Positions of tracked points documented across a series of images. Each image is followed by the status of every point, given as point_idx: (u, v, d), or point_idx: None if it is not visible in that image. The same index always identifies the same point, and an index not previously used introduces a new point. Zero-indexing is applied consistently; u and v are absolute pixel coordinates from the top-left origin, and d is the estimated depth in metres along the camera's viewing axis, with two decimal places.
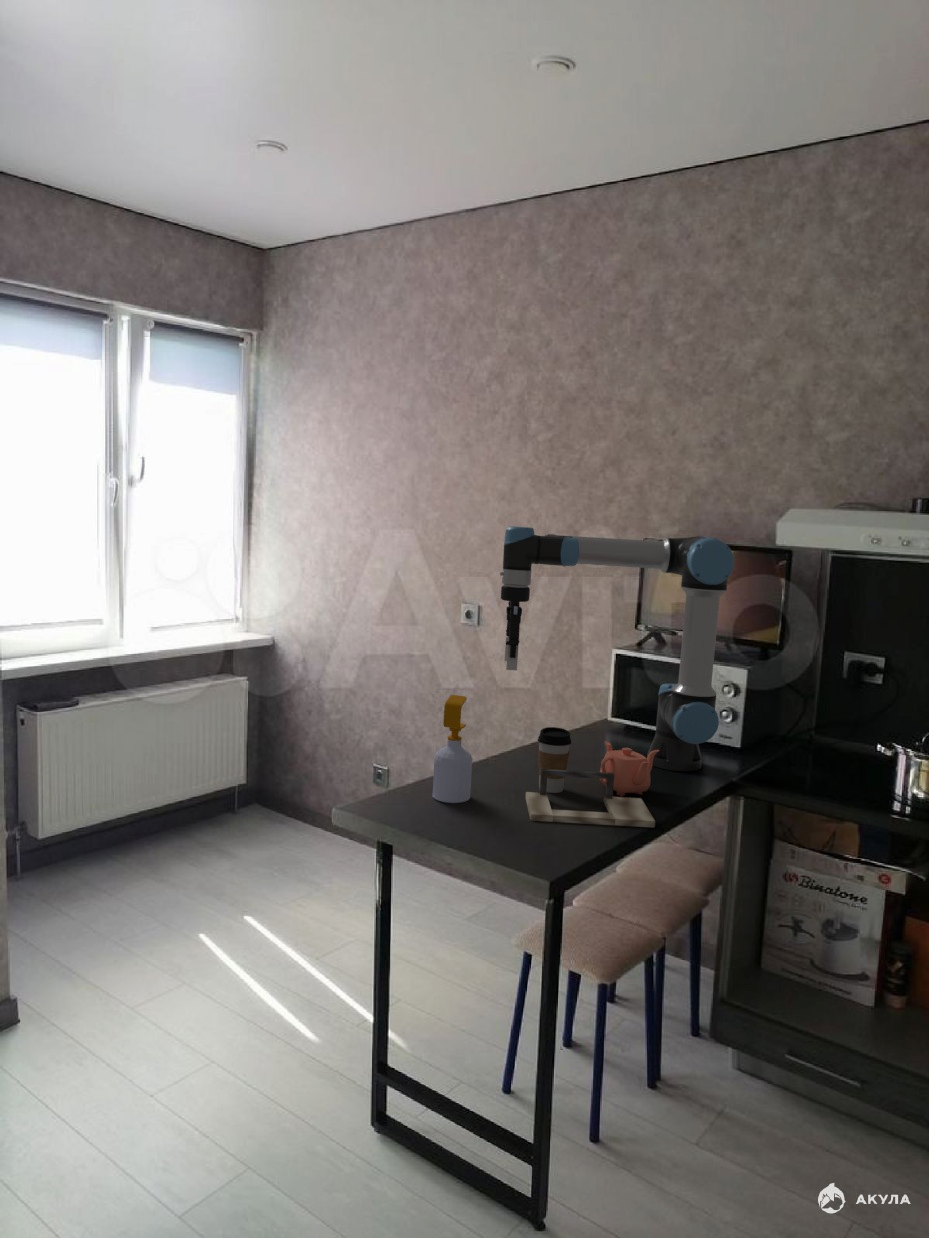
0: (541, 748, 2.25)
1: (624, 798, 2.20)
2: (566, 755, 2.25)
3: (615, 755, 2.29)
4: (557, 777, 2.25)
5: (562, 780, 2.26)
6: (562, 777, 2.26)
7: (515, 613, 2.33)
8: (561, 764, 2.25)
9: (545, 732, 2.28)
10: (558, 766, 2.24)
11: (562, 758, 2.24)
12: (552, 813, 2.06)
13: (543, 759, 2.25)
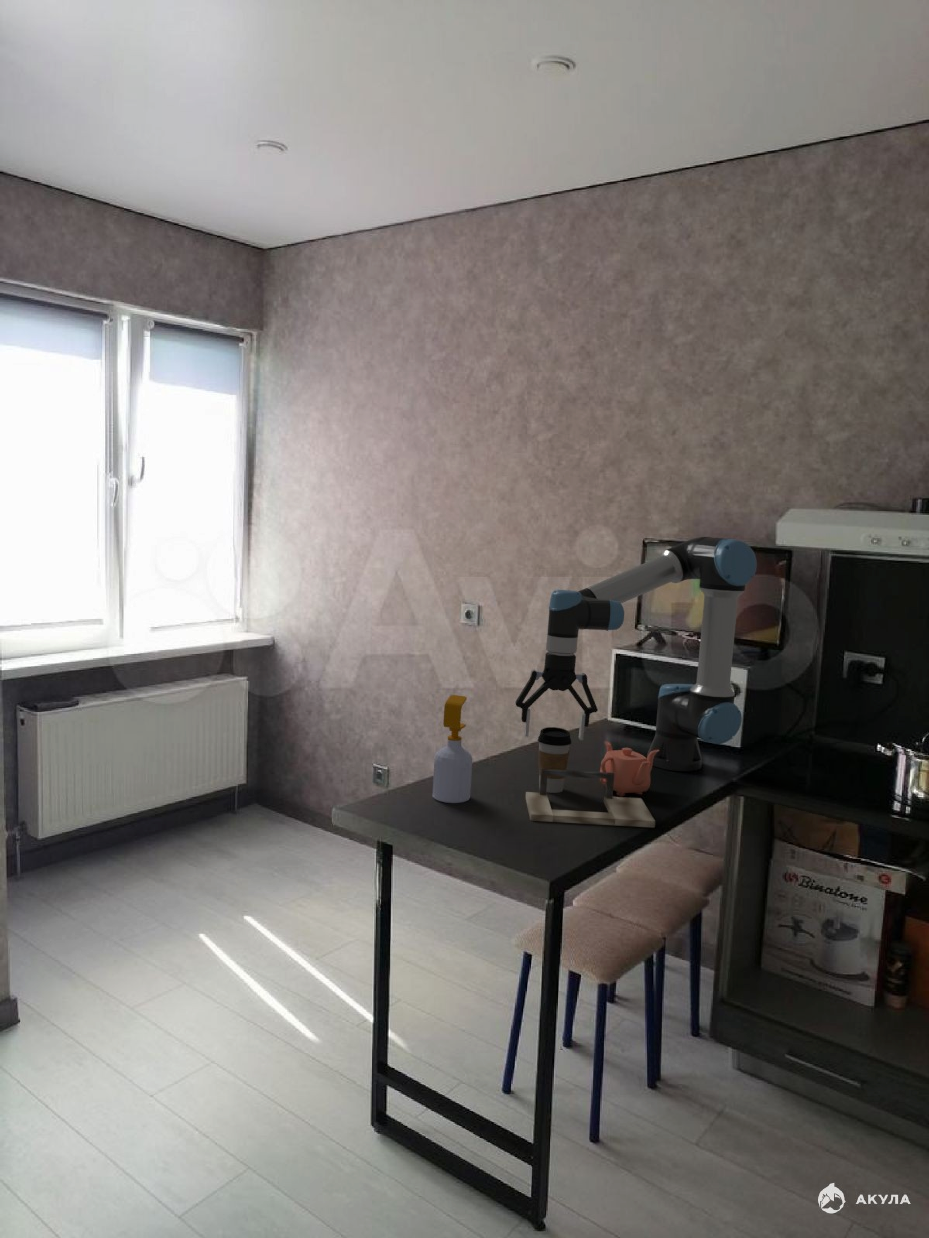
0: (541, 748, 2.25)
1: (624, 798, 2.20)
2: (566, 755, 2.25)
3: (615, 755, 2.29)
4: (557, 777, 2.25)
5: (562, 780, 2.26)
6: (562, 777, 2.26)
7: (531, 677, 2.25)
8: (561, 764, 2.25)
9: (545, 732, 2.28)
10: (558, 766, 2.24)
11: (562, 758, 2.24)
12: (552, 813, 2.06)
13: (543, 759, 2.25)
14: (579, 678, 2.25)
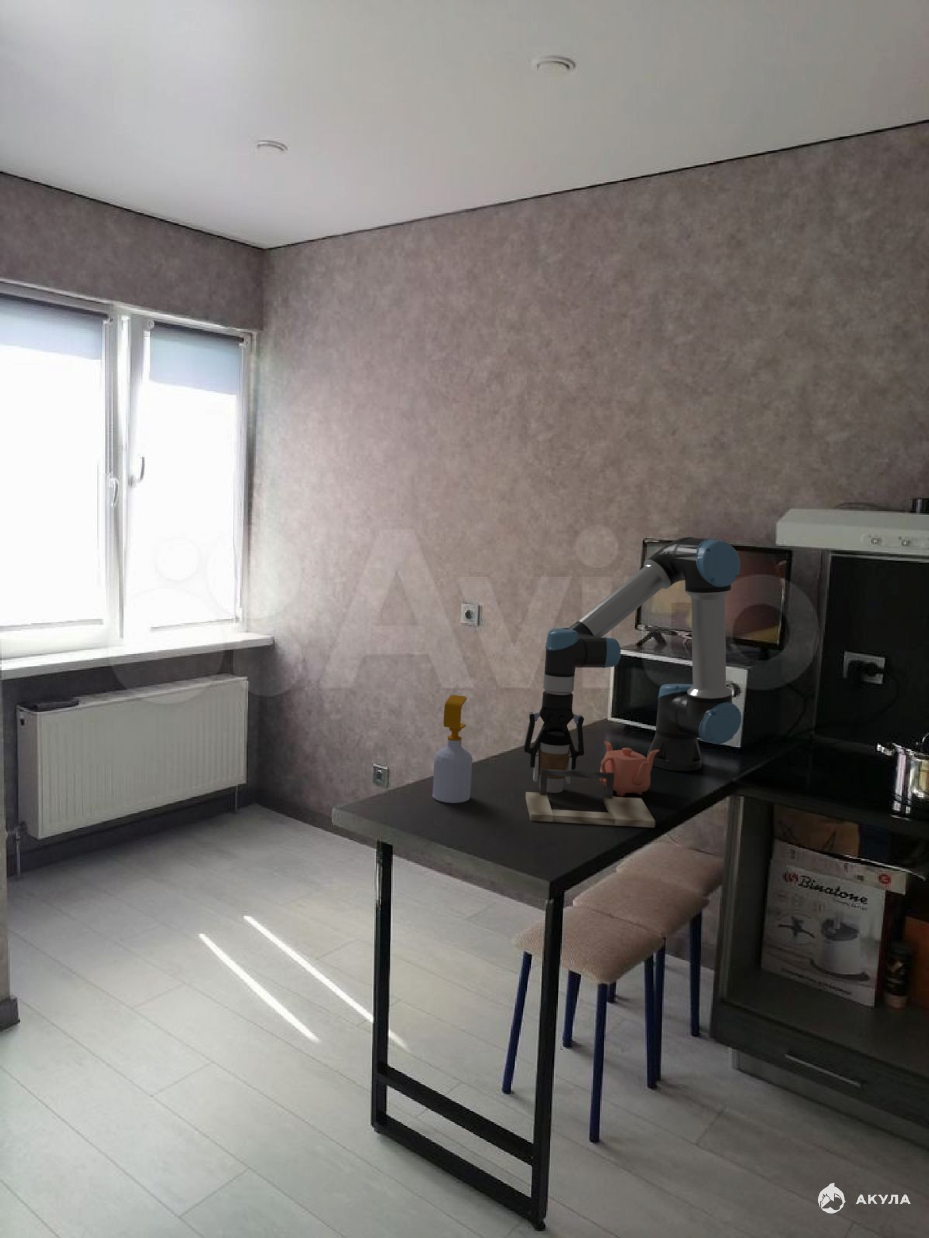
0: (541, 748, 2.25)
1: (624, 798, 2.20)
2: (566, 755, 2.25)
3: (615, 755, 2.29)
4: (557, 777, 2.25)
5: (562, 780, 2.26)
6: (562, 777, 2.26)
7: (530, 720, 2.26)
8: (561, 764, 2.25)
9: None
10: (558, 766, 2.24)
11: (562, 758, 2.24)
12: (552, 813, 2.06)
13: (543, 759, 2.25)
14: (576, 718, 2.26)
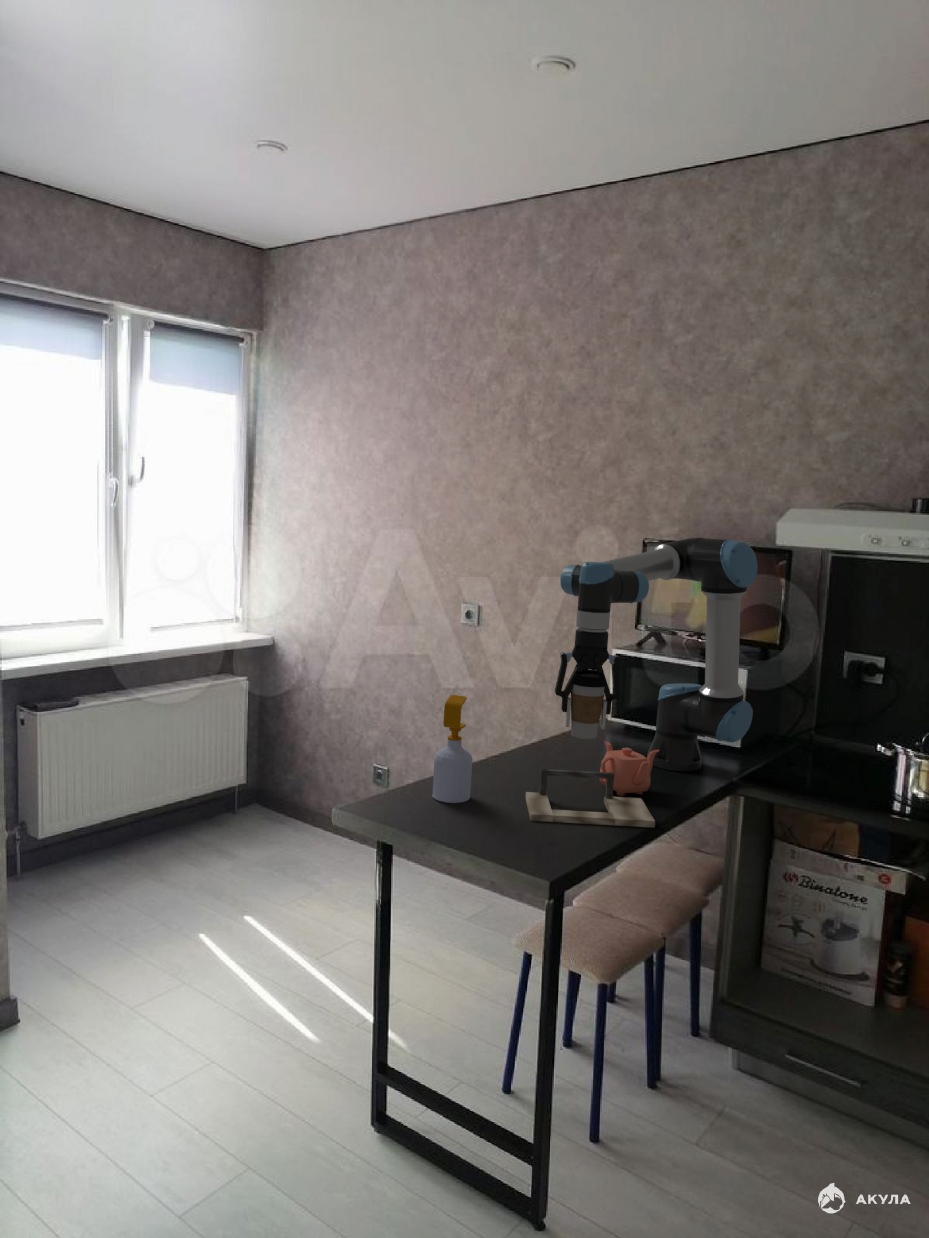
0: (574, 691, 2.09)
1: (624, 798, 2.20)
2: (601, 698, 2.08)
3: (615, 755, 2.29)
4: (591, 722, 2.08)
5: (596, 725, 2.10)
6: (596, 722, 2.09)
7: (561, 660, 2.10)
8: (596, 708, 2.08)
9: None
10: (593, 710, 2.08)
11: (597, 701, 2.08)
12: (552, 813, 2.06)
13: (576, 702, 2.09)
14: (611, 659, 2.09)
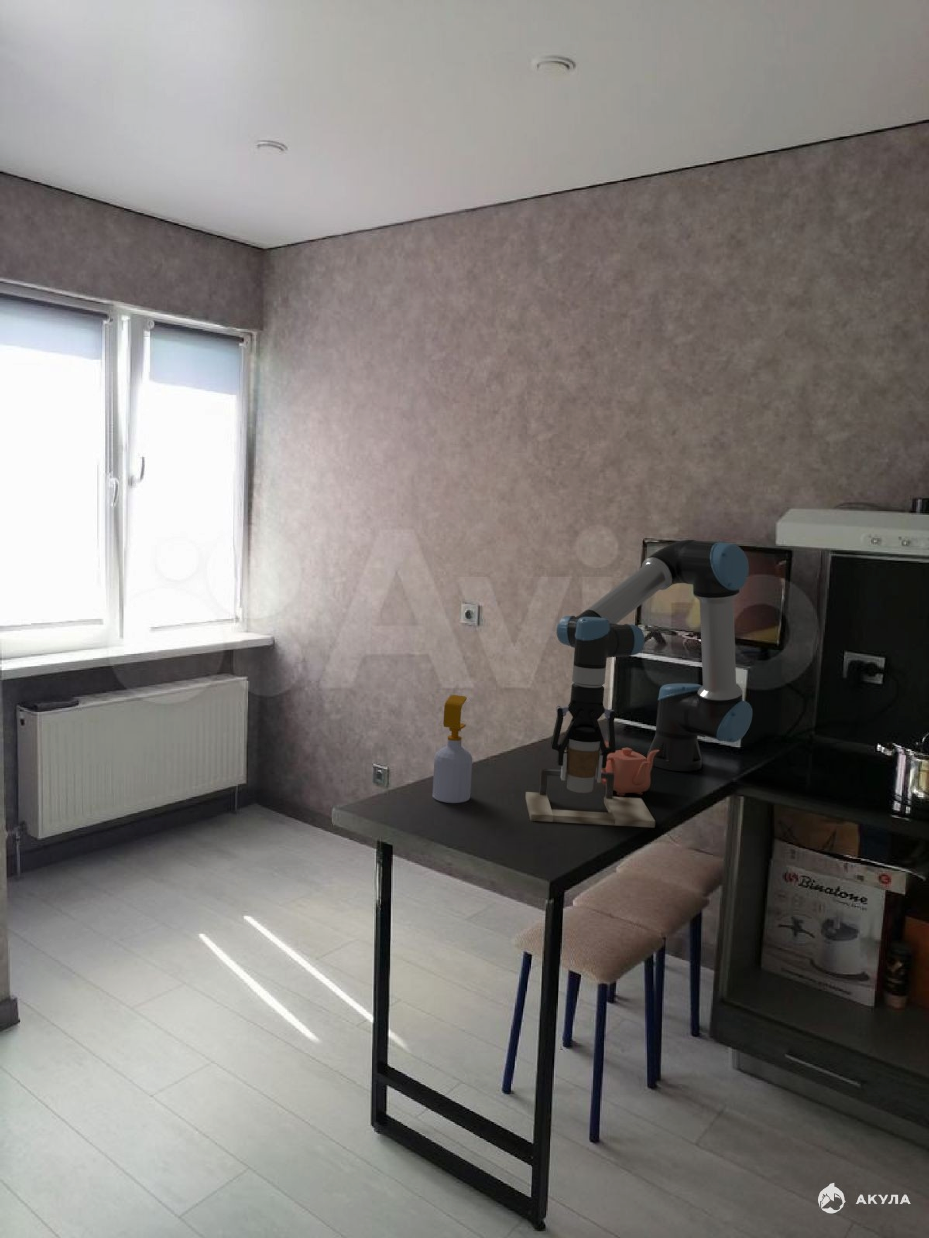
0: (570, 745, 2.10)
1: (624, 798, 2.20)
2: (597, 752, 2.10)
3: (615, 755, 2.29)
4: (587, 776, 2.10)
5: (592, 779, 2.11)
6: (592, 776, 2.11)
7: (557, 714, 2.11)
8: (591, 762, 2.10)
9: None
10: (588, 764, 2.09)
11: (593, 755, 2.09)
12: (552, 813, 2.06)
13: (572, 756, 2.10)
14: (607, 713, 2.11)
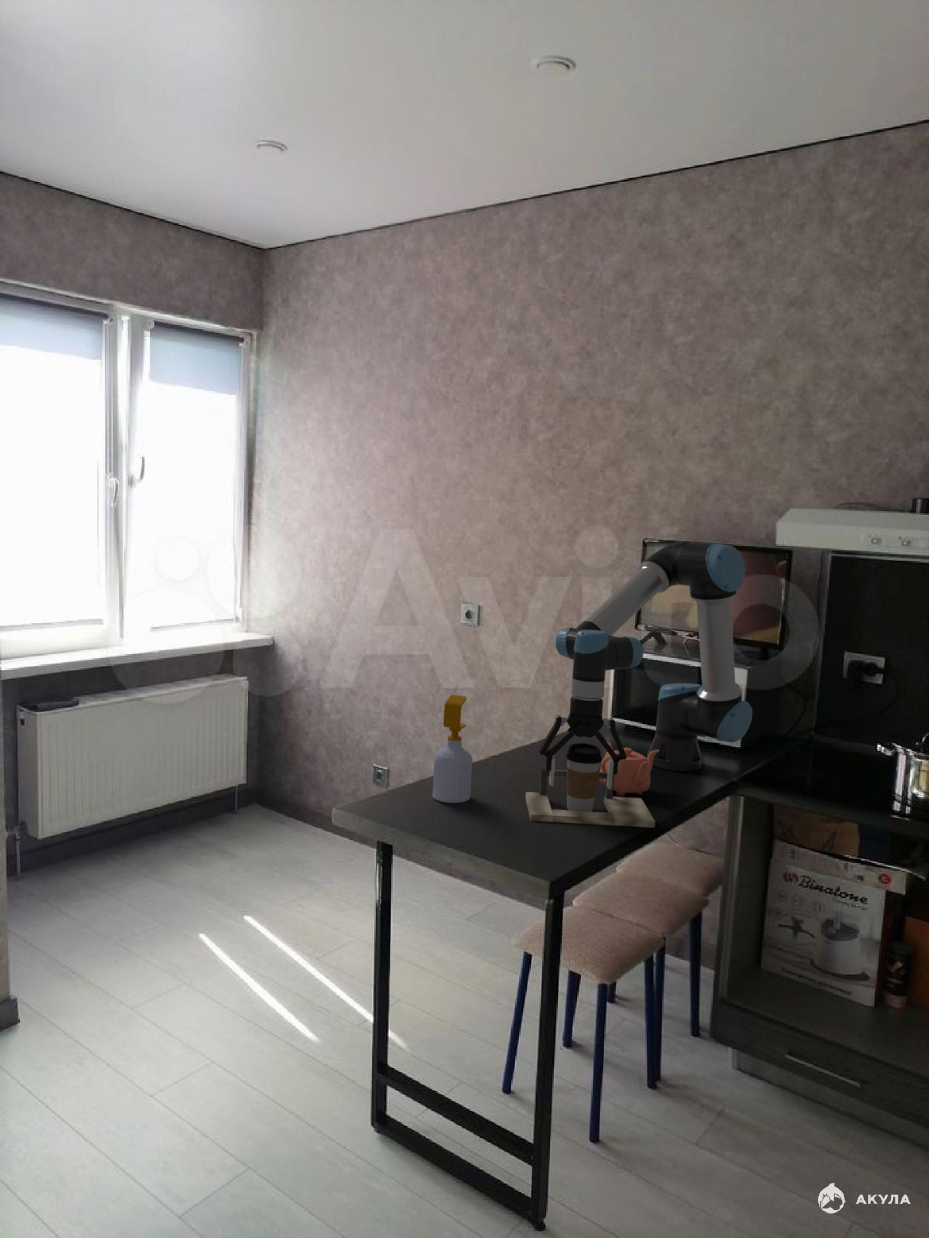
0: (570, 766, 2.11)
1: (624, 798, 2.20)
2: (596, 774, 2.11)
3: None
4: (587, 797, 2.11)
5: (592, 800, 2.12)
6: (592, 797, 2.12)
7: None
8: (591, 784, 2.10)
9: (574, 748, 2.14)
10: (588, 786, 2.10)
11: (592, 777, 2.10)
12: (552, 813, 2.06)
13: (571, 777, 2.11)
14: (607, 723, 2.11)
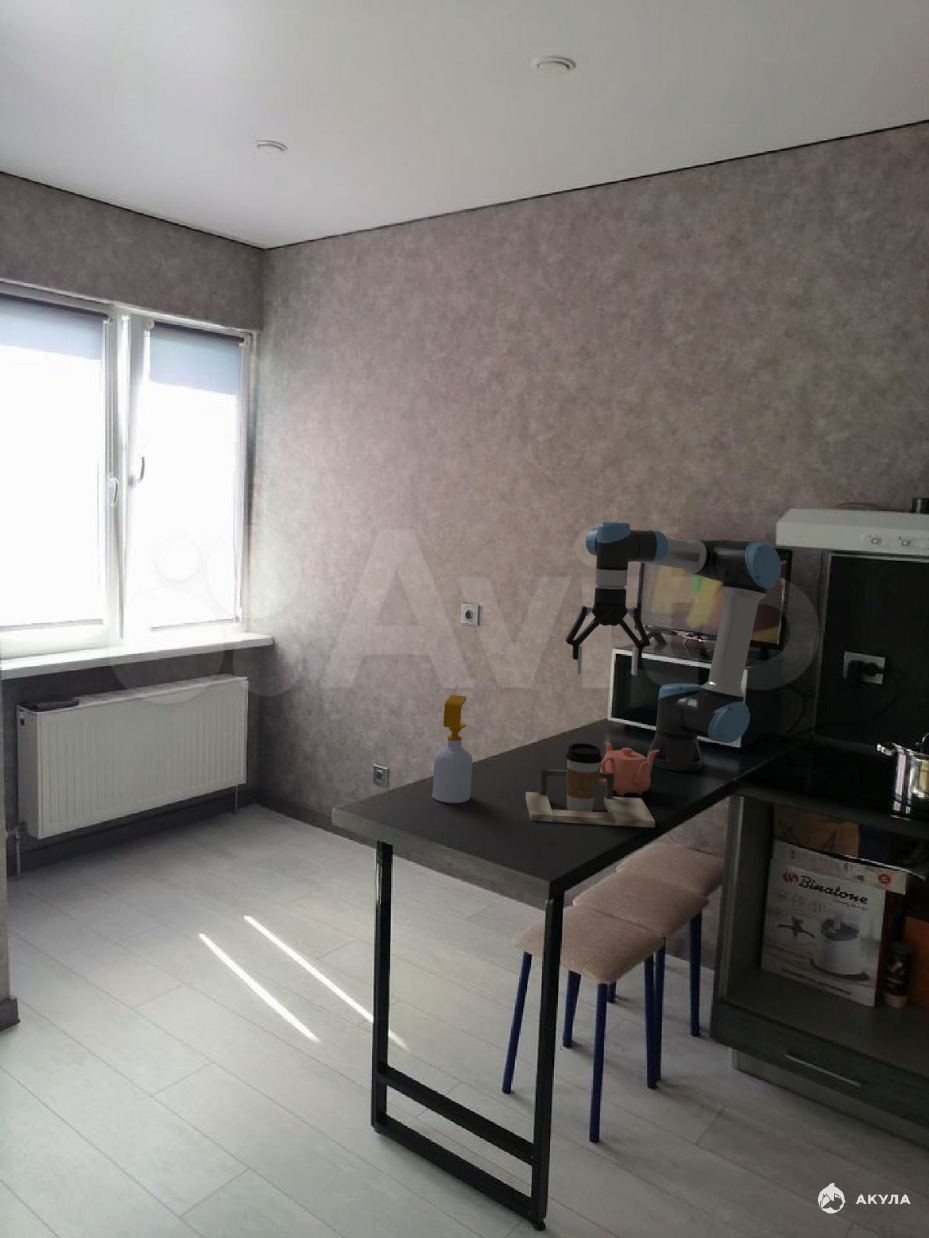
0: (570, 766, 2.11)
1: (624, 798, 2.20)
2: (596, 773, 2.11)
3: (615, 755, 2.29)
4: (586, 797, 2.11)
5: (592, 800, 2.12)
6: (592, 797, 2.12)
7: (581, 613, 2.19)
8: (591, 783, 2.10)
9: (574, 748, 2.14)
10: (588, 786, 2.10)
11: (592, 777, 2.10)
12: (552, 813, 2.06)
13: (571, 777, 2.11)
14: (630, 612, 2.19)
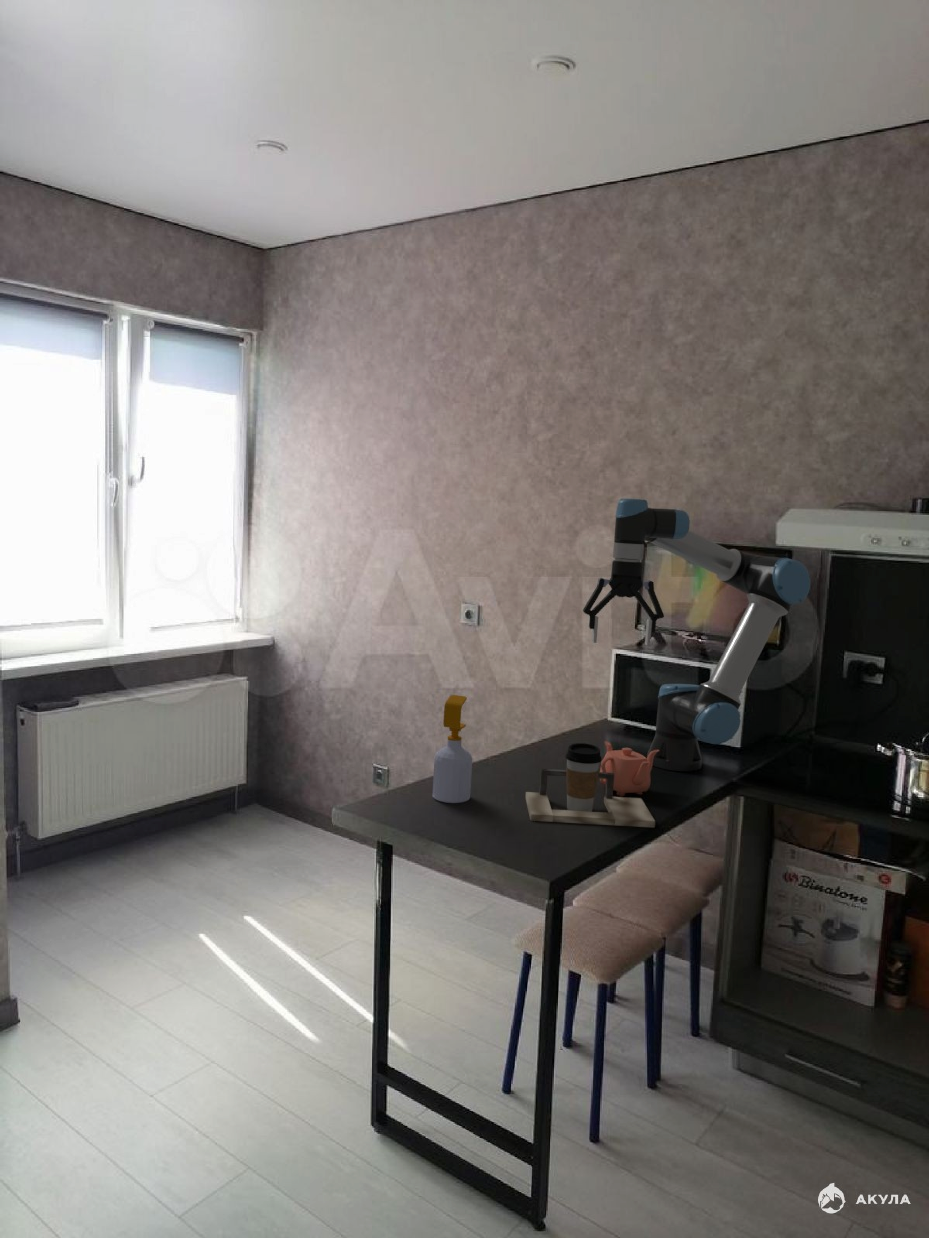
0: (569, 766, 2.11)
1: (624, 798, 2.20)
2: (596, 773, 2.11)
3: (615, 755, 2.29)
4: (586, 797, 2.11)
5: (592, 800, 2.12)
6: (592, 797, 2.11)
7: None
8: (591, 783, 2.10)
9: (573, 749, 2.14)
10: (588, 786, 2.10)
11: (592, 777, 2.10)
12: (552, 813, 2.06)
13: (571, 777, 2.11)
14: (645, 585, 2.30)
